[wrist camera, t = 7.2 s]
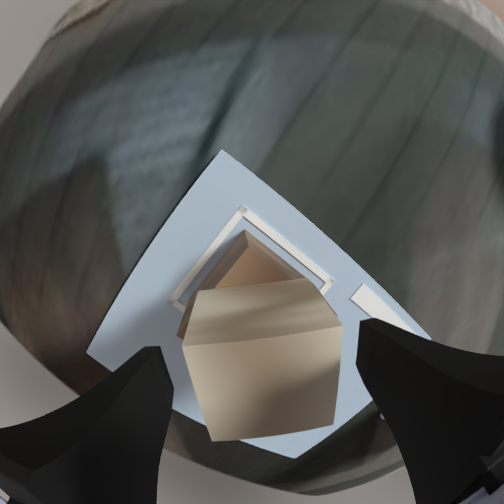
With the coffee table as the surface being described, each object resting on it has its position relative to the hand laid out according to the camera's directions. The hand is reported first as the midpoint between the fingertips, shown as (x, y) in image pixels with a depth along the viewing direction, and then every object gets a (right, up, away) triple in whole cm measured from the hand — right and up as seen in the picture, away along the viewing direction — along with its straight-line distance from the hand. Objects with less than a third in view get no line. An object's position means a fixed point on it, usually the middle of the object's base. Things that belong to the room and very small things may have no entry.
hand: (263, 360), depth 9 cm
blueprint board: (+1, -3, +8) cm, 8 cm away
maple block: (0, 0, +2) cm, 2 cm away
